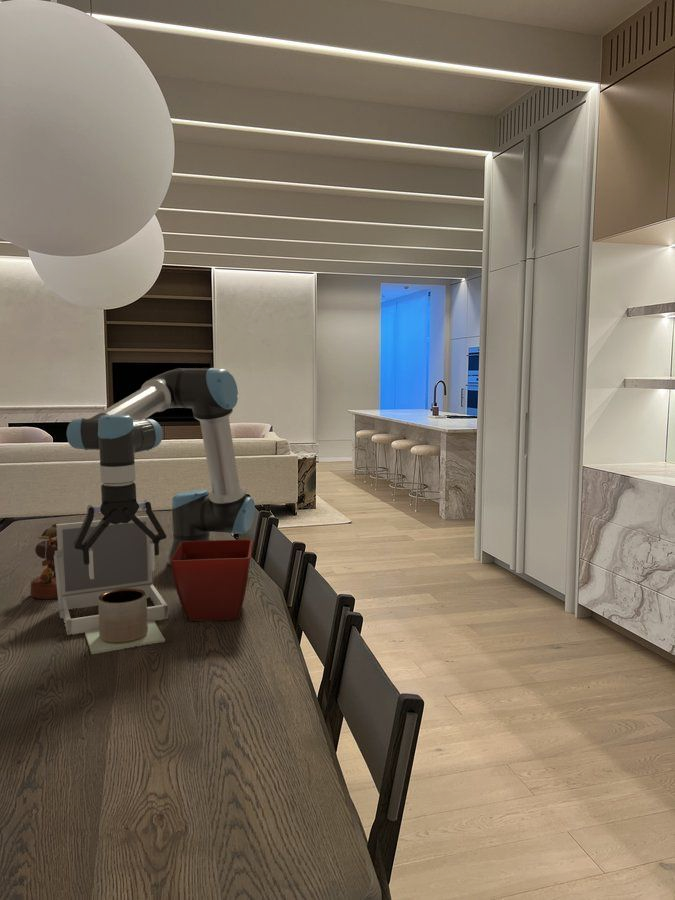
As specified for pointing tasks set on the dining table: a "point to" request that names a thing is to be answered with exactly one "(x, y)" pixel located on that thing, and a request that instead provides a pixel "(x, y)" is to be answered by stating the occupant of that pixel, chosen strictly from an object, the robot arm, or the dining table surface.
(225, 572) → the plant pot
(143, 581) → the case
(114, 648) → the mat
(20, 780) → the dining table surface
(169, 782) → the dining table surface
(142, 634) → the planter
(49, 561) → the music box
